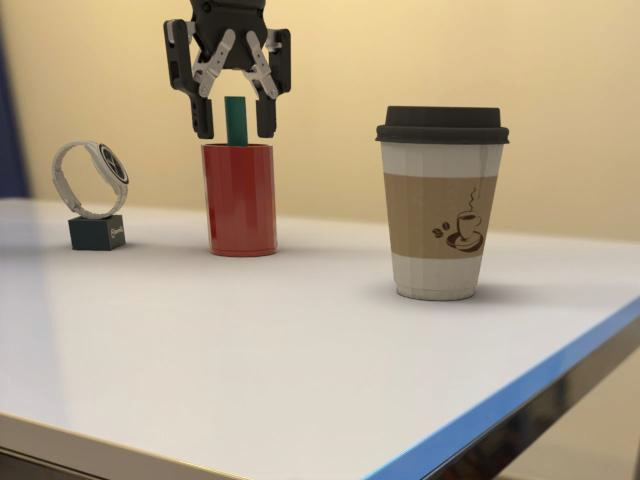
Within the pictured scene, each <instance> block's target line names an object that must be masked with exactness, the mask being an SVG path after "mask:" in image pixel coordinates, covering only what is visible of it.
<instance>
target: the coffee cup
mask: <svg viewBox="0 0 640 480" xmlns="http://www.w3.org/2000/svg"><path fill="white" fill-rule="evenodd" d="M375 131H376V137H375V138H374V141H375V142H380V152H381V153H380V154H381V162H382V172H383V183H384V193H385V204H386V213H387V221H388V222H387V223H388V224H387V225H388V235H389V243H390V253H391V264H392V274H393V282H394V283H395V285H396V292H397V294H398V295H401V296H403V297H406V298H409V299H415V300H422V301H455V300H458V301H459V300H464V299H467V298H470V297H473V295H474V293H475V288H476V286H477V284H478V282H479V278H480V272H481V266H482V261H483V256H484V251H485V246H486V240H487V235H488V230H489V225H490V219H491V214H492V209H493V203H494V200H495V195H496V188H497V184H498V178H499V172H500V167H501V162H502V156H503V151H504V147H505V145H509V144H511V142H510V140H509V136H510V129H509V128H508V127H506V126H502V120H501V109H500V107H489V106H488V107H487V106H485V107H484V106H481V107H479V106H432V105H431V106H430V105H427V106H426V105H425V106H424V105H388V106H387V107H386V115H385V121H384V124H379V125H377V126H376V129H375Z"/></svg>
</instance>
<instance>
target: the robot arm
mask: <svg viewBox="0 0 640 480" xmlns="http://www.w3.org/2000/svg"><path fill="white" fill-rule="evenodd" d="M189 3H190V6H191V8H192V12H191V13H192V14H191V18H190V20H189V21H187V20H184V19H182V18H173V19H168V20H167V19H166V20H165V21H163V24H162V29H163V30H162V31H163V37H164V45H165V52H166V60H167V61H166V63H167V70H168V76H169V77H168V78H169V83H170V84H169V85H170V87H171V88H172V89H173V90H174V91H180V92H182V93H183V94H186V95H187V96H188V99H189V102H190V112H191V124H192V129H193V132H194V133H195V134H197V139H199V140H214V138H215V128H214V127H215V125H214V113H213V101H212V98H209V96H210V93H211V90H212V88H213V86H214V83H215V81H216V79H217V78H218V77H219V76H220V75H221V72H222V71H223V70H225V71H226V70H232V71H241V73H242V74H243V76H244V78H245V79H246V80H247V81H248V82H249V83H250V86H251V87H252V89H253V91H254V93H255V95H256V98H257V99H255V100H254V101H255V118H256V135H257V137H258V138H259V139H273V138H274V136H275V133H276V131H277V128H278V126H277V125H278V123H277V99H278V97H280V96H281V95H284V94H288V93H290V92H291V90H292V35H291V31H290V29H289V28H275V29H274V28H268V27H267V24H266V22H265V19H264V11H265V7H266V6H267V5H266V4H267V0H189ZM193 39H194V41H195V43H196V44H197V46H198V48H199V49H198V51H197V54H196V57H195V59H194V62H193V65H192V59H191V50H190V48H191V47H190V45H191V44H192V41H193ZM264 47H265V49H266V50H267V51H268V54H267V55H268V61H267V59H266V56H265V55H264V52H263V49H264Z"/></svg>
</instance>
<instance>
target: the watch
mask: <svg viewBox="0 0 640 480" xmlns="http://www.w3.org/2000/svg"><path fill="white" fill-rule="evenodd" d="M77 146H84V147H83V148H84V149H85V150H86V151H87V152H88V153H89V154H90V159H91V161H92V163H93V164H92V165H93V166H94V168H95V169H96V171H97V173H98V174H99V175H100V177H101V178H102V179H103V181H104V182H105V183H106V184H107V185H108V186H110V187H111V188H112V190H113V192H114V194H115V195H116V196H117V199H116V201H115V203H114V205H113V207H112V208H111V209H110V210H109V211H108V212H105V213H96V212H95V213H94V212H92V211H89V210H87V209H85V208H84V207H82V203H81V201H80V200H79V199H78V197H77V196H76V194H75V193H74V191H73V190H72V188H71V186H70V184H69V182H68V180H67V178H65V173H64V171H63V170H62V165H63V160H64V158H65V157H66V155H67V153H68V152H70V151H71V150H72V149H73V148H75V147H77ZM51 173H52V174H51V176H52V179H51V181H52V183H53V186H54V188H55V190H56V191H57V193H58V195H59V197H60V199H61V200H62V201H63V202H64V203H63V204H65V206H66V207H67V208H68V209H69V210H70V211H71V212H72V213H75V214H77V215H79V216H76V217H73V218H70V219H67V224H68V229H69V230H68V231H69V237H70V242H71V250H74V251H75V250H79V251H87V250H88V251H113V250H114V249H117V248H118V247H121V246H122V245H124V244H126V235H125V227H124V219H123V214H116V213H117V212H119V211H120V210H121V209H122V207H123V206H124V205H125V203H126V199H127V197H128V192H129V187H128V186H129V185H130V179H129V176H128V173H127V171H126V169H125V167H124V165H123V164H122V162H121V160H120V159H119V158H118V157H117V155H116V154H115V153H114V152H113V150H112V149H111V148H109V146H107V145H106V144H104V143H102V142H99V143H98V142H96V141H92V140H77V141H72V142H67V143H66V144H64V145H62V146H61V147H60V148H58V150H57V151H56V153H55V154H54V156H53V159H52V162H51Z"/></svg>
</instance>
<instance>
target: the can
mask: <svg viewBox="0 0 640 480" xmlns="http://www.w3.org/2000/svg"><path fill="white" fill-rule="evenodd" d="M200 154H201V164H202V176H203V186H204V188H203V189H204V200H205V211H206V223H207V225H206V226H207V234H208V245H209V252H210V253H211V254H213V255H216V256H221V257H222V256H224V257H230V258H231V257H232V258H233V257H234V258H248V257H249V258H250V257H251V258H252V257H263V256H269V255H273V254H276V253H277V252H278V232H277V229H278V228H277V210H276V209H277V208H276V207H277V206H276V187H275V185H276V184H275V165H274V162H275V161H274V145H273V144H271V143H270V144H269V143H252V142H251V143H250V142H248V146H228V145H227V142H213V143H210V142H209V143H201V144H200Z"/></svg>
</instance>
